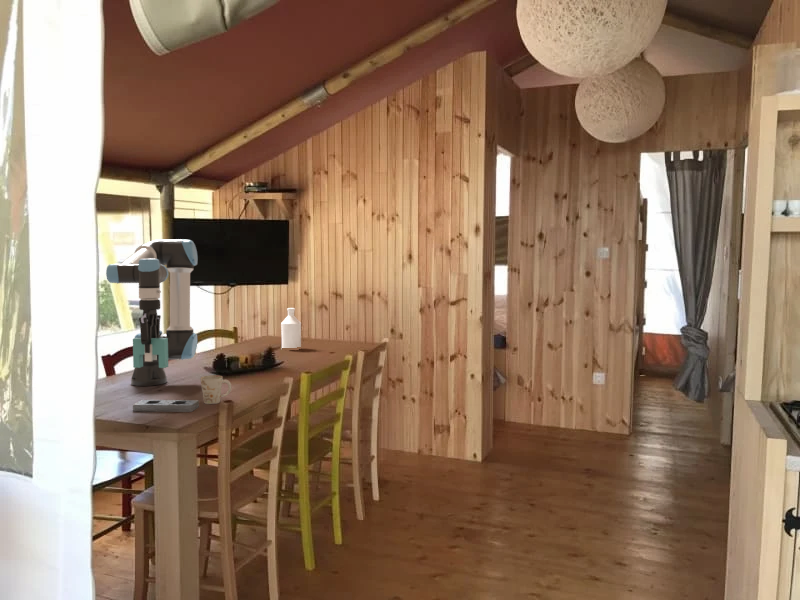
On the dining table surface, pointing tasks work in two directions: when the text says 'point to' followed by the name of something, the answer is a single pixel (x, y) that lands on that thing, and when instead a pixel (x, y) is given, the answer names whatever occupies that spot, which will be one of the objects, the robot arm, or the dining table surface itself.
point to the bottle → (291, 331)
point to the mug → (213, 388)
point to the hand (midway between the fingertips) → (150, 360)
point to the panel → (157, 349)
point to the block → (166, 405)
